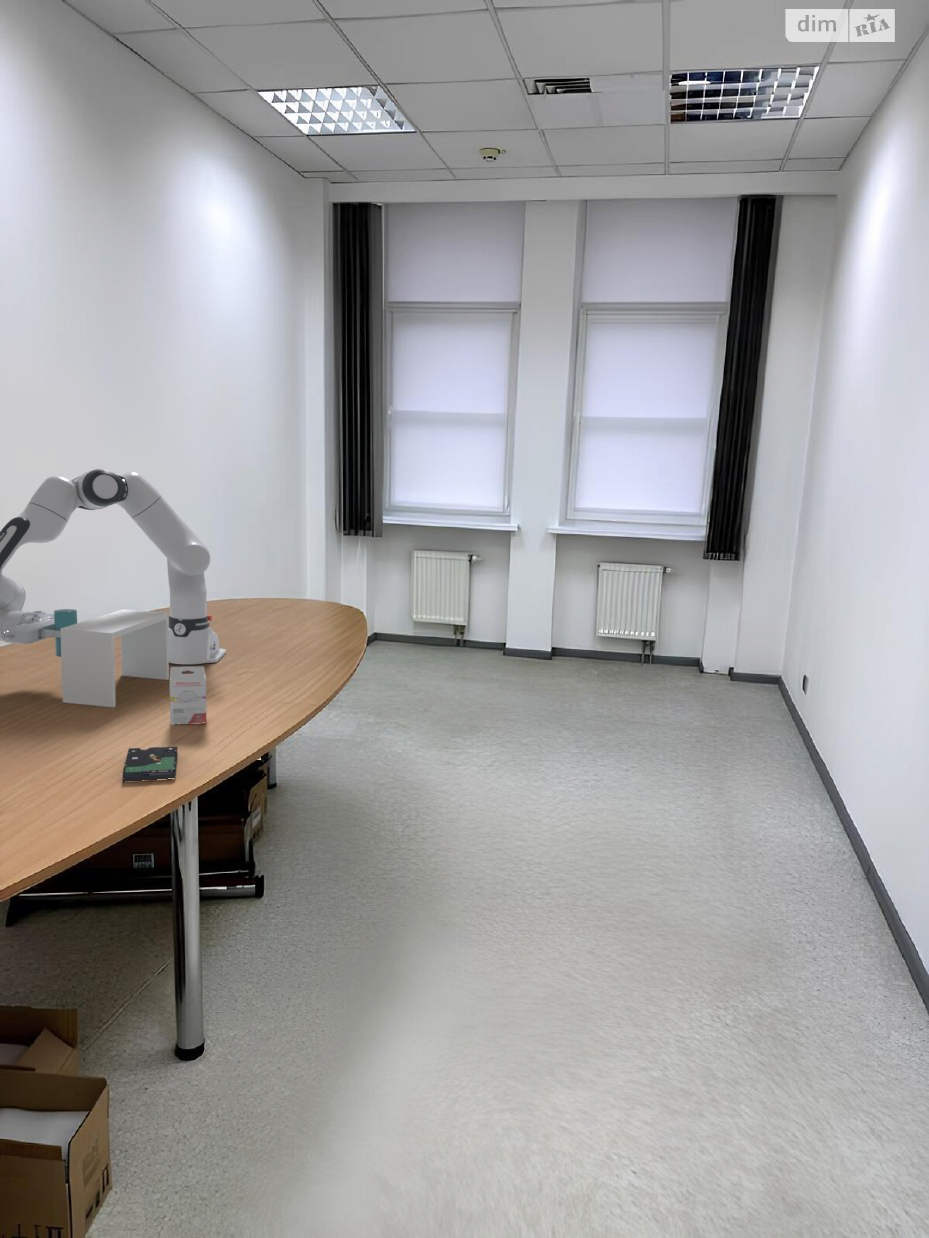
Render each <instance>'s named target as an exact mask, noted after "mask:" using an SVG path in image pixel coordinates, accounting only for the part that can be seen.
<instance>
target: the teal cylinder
mask: <svg viewBox="0 0 929 1238" xmlns="http://www.w3.org/2000/svg"><path fill="white" fill-rule="evenodd" d="M53 614H54V626H55V630H60V629H61V628H64V627H67V626H70V625H74V624H77V623H78V611H77V610H76V609H71V608H69V609H68V608H62V609H57V610H56V609H55V610H54V611H53ZM54 645H55V656H56V657H59V658H61V637H59V638H58V637H54Z"/></svg>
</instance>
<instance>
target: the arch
mask: <svg viewBox="0 0 929 1238" xmlns="http://www.w3.org/2000/svg"><path fill="white" fill-rule="evenodd" d="M168 620H169V612H160V611H149V610H148V611H147V610H146V611H145V610H137V609H136V610H135V609H125V608H124V609H123V608H122V609H120V610H119V609H118V610H116V611H113V612H110V613H106V614H104V615H99V616H96V617H94V618H91V619H87V620H83V621H81V622H77V624H74V625H70V626H67V627H64V628H61V629H60V632H61V657H60V658H61V660H60V661H61V662H60V663H61V686H62V687H61V688H62V689H61V690H62V703H65V704H74V705H83V706H84V705H87V706H94V707H95V706H96V707H105V708H106V707H107V708H115V707H116V704H117V703H116V668H115V667H116V663H115V662H116V661H115V659H116V658H115V657H116V656H115V654H116V653H115V639H116V638H120V640H121V641H120V646H121V647H120V650H121V652H120V653H121V677H122V676H123V677H131V678H142V679H143V678H144V679H152V680H153V679H154V680H164V681H168V680H170V674H169V673H170V665H169V664H170V663H169V640H168V630H169V623H168Z"/></svg>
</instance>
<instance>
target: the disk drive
mask: <svg viewBox="0 0 929 1238" xmlns="http://www.w3.org/2000/svg"><path fill="white" fill-rule="evenodd" d="M178 749H179V747H178V746H164V747H163V746H161V747H160V746H157V747H156V746H154V747H153V746H152V747H148V748H146V749H141V748H140V747H132V748H131V747H130V748H128V750H127V754H126V759H125V761H124V766H123V768H122V783H126V782H125V781H142V780H157V779H168V778H175V779H176V777H177V766H178V765H177V764H178V758H177V757H179V756H178V755H179V754H178V751H179V750H178ZM176 765H177V766H176ZM175 776H176V777H175ZM142 782H143V781H142Z"/></svg>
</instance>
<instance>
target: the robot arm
mask: <svg viewBox="0 0 929 1238" xmlns="http://www.w3.org/2000/svg"><path fill="white" fill-rule="evenodd" d="M114 504H116V505H118V506H120V507H121V508H122V509H124V511H125V512H126V513H127V514H128V515H129V517H130V518H131V519H132V520H133V521H134V522H135V523H136V525H137V526H138V527H139V528H140V529H141V531H142V532H143V533H144V534H145V535H146V537H148V539H149V540H150V541H151V542H153V544H154V545H155V546H156V547H157V549H159V551H160V552H161V553H162V554H163V555H164V556H165V558H166V562H167V563H166V564H167V576H168V586H169V615H168V640H169V664H174V665H200V664H201V665H202V664H208V663H210V664H211V663H218V661H219V660H220V659H221V658H222V657H224V655H226V653H227V650H226V649H225V648H221V647H220V646H219V645H220V643H219V635H218V634H216V632H214V630H213V629H212V628H211V627H210V622H211V621H212V620H213V615H212V614H207V613H208V612H207V607H208V606H207V602H208V601H207V594H208V593H207V588H206V587H207V586H206V580H205V578H206V577H205V571H207V570H208V568H209V566H210V563H211V555H210V551H209V549H208V548H207V546H206V545H205V544H204V543H203V541H201V539H200V538H199V537H198V536H197V535H196V533H194V531H193V530H192V529H191V528H190V527H189V526H188V525H187V523H186V522H185V521H184V519H182V518H181V517H180V516H179V515H178V514H177V513H176V511H175V510H174V508H173V507H172V506H171V505H170V504H169V503H168V502H167V500H166V499H165V498H164V497H163V496H162V494H161V493H160V492H159V491H158V490H157V489H156V488H155V487H154V486H153V485H152V484H151V483H150V482H149V481H148V480H147V479H146V478H145V477H144V476H142V475H141V474H140V473H138V472H133V471H132V472H125V473H123V474H121V475H120V474H117V473H115V472H113V471H110V470H107V469H103V468H97V469H94V470H88V471H86V472H84V473H82V474H81V475H79V476H77V477H75V478H74V479H72V480H71V479H68V478H66V477H63V476H60V475H50V476H49V477H47V478H46V479H45V480H44V481H43V482H42V483H41V485H40V486H39V487H38V488H37V489H36V490H35V492H34V493H33V495H32V496H31V498H30V500H29V502H28V503H27V505H26V507H25V508H24V509H23V511H22V512H21V513H20V514H19V515H18V516H17V517H14V518H11V519H10V520H8V522H7V523H6V524H5V525H4V526H3V528H2V529H1V530H0V642H1V641H2V642H5V643H6V644H7V643H8V644H18V645H29V644H34V643H36V642H40V641H43V640H45V639H49V638H52V639H53V638H55V637H58V638H59V637H61V632H60V630H55V626H54V613H46V611H42V610H35V611H25V610H23V611H22V609H23V607H24V604H25V601H26V590H25V589H24V587H23V586H22V585H21V584H20V583H18V582H16V581H15V580H13V579H12V578H9V577H7V576H5V575H3V570H4V568H5V567H6V565H7V564H8V563H9V562H10V560H11V559H12V558H13V556H14V555H15V553H16V552H17V550H18V549H20V547H21V546H24V545H26V544H29V543H35V544H43V543H44V544H45V543H51V542H53V541H55V540H56V539H58V538H59V536H60V535H62V532H63V531H64V529H65V528H66V526H67V524H68V522H69V520H70V518H71V515H72V513H74V511H75V510H76V509H78V508H79V509H81V510H87V511H96V510H102V509H105V508H107V507H109V506H113V505H114Z"/></svg>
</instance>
